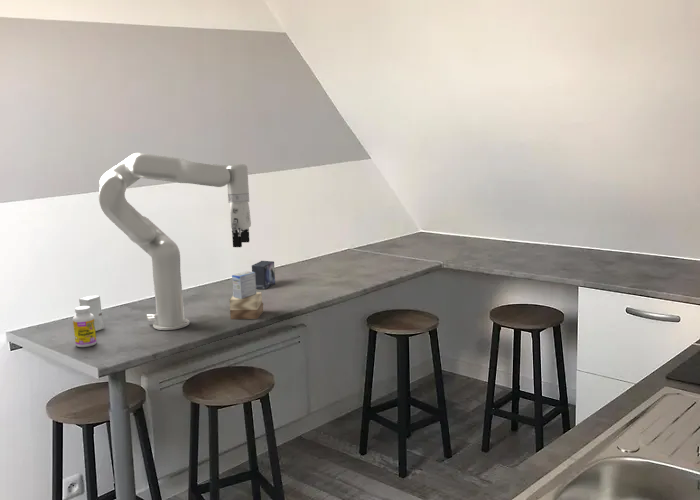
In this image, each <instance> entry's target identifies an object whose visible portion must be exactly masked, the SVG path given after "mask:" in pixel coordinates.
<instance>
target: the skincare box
mask: <svg viewBox="0 0 700 500" xmlns="http://www.w3.org/2000/svg"><path fill="white" fill-rule="evenodd" d="M78 301H79V307H80V306H90V313H91V314H93V315H94V321H95V331H96V332H98V331H100V330H103V329H104V322H103V321H104V320H103V314H102V313H103V312H102V305H101V296H100V295H88V296H84V297H81V298H79V299H78Z"/></svg>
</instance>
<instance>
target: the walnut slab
mask: <svg viewBox="0 0 700 500" xmlns="http://www.w3.org/2000/svg"><path fill="white" fill-rule="evenodd" d="M229 313H230V320H257V319H259V318H260V316H261V315H262V314H263V313H264V302H262V303H261V305H260V306H259V308H258V309H257V310H230V309H229Z"/></svg>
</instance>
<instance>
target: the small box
mask: <svg viewBox="0 0 700 500" xmlns="http://www.w3.org/2000/svg"><path fill="white" fill-rule="evenodd" d="M275 270H276V269H275V260H274V261H269V260H260V261H258V262H256V263H254V264H252V265H251V272H255V278H256V290H267V289H268V288H271V287H272V286H274V285H276V276H275V275H276V273H275Z"/></svg>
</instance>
